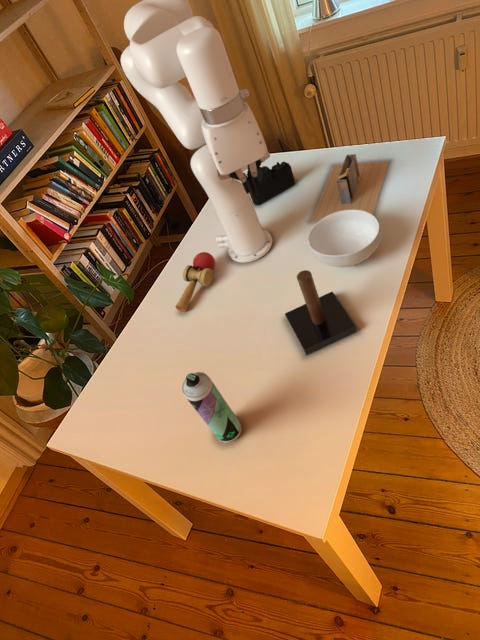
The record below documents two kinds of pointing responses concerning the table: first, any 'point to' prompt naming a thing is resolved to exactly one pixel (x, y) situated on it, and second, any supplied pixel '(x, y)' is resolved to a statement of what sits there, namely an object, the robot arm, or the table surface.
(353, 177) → the ruin model on sheet
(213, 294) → the table surface
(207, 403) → the spray can
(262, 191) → the film camera
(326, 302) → the towel holder
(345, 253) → the cereal bowl
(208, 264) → the kendama
